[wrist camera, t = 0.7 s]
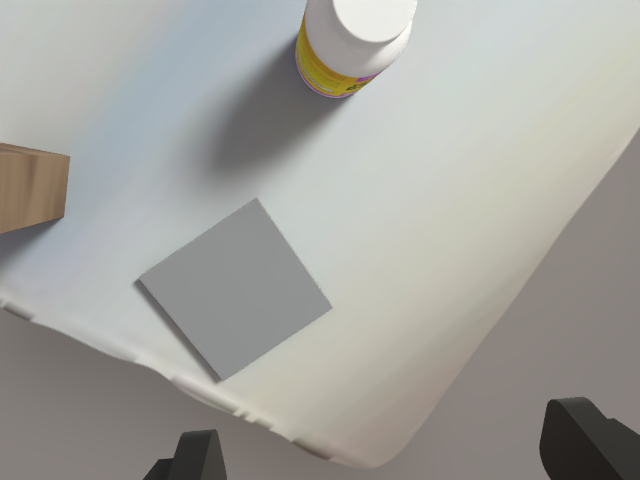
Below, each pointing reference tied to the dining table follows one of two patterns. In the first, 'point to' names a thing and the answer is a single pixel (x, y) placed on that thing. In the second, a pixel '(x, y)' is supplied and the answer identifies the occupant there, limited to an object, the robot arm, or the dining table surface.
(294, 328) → the slate tile
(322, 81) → the supplement bottle
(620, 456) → the robot arm
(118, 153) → the dining table surface
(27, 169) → the walnut block
